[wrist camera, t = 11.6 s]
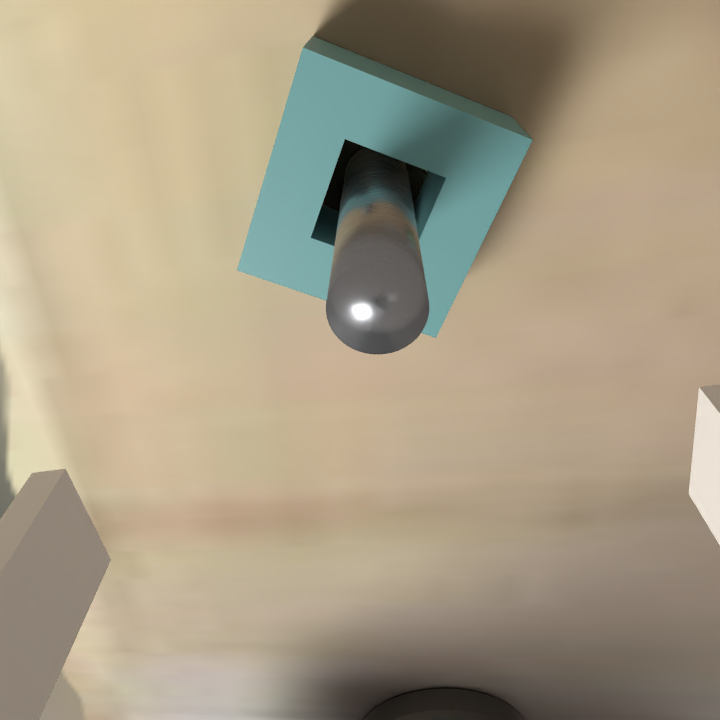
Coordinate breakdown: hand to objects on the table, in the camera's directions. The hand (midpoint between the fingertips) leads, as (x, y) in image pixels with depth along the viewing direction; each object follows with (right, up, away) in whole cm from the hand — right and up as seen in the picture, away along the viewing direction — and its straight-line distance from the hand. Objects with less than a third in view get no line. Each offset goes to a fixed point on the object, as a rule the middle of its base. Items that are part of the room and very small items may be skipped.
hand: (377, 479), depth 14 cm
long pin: (0, +12, +19) cm, 23 cm away
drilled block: (0, +12, +19) cm, 23 cm away
